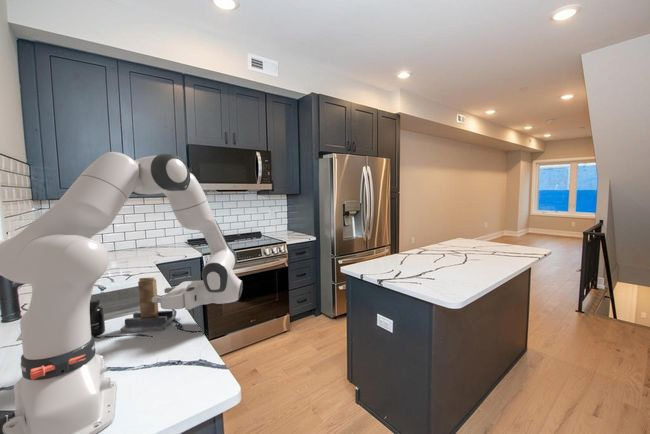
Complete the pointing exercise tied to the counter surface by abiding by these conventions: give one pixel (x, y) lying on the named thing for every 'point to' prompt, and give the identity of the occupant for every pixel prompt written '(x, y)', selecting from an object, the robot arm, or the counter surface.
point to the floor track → (147, 322)
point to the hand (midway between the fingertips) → (159, 294)
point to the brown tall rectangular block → (148, 297)
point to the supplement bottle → (96, 318)
